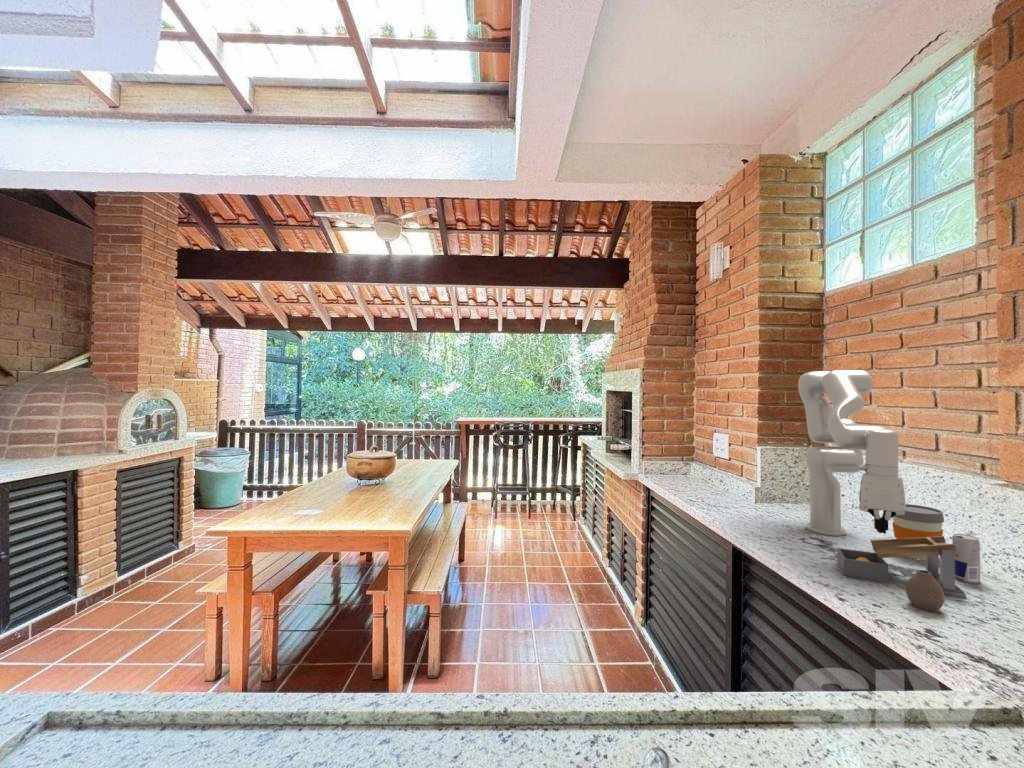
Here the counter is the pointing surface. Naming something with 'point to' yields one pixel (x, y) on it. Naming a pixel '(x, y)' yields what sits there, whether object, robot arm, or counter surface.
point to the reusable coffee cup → (918, 523)
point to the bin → (862, 565)
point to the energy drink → (967, 558)
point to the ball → (862, 559)
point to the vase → (925, 591)
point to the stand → (944, 572)
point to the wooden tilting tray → (910, 546)
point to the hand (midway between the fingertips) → (881, 531)
